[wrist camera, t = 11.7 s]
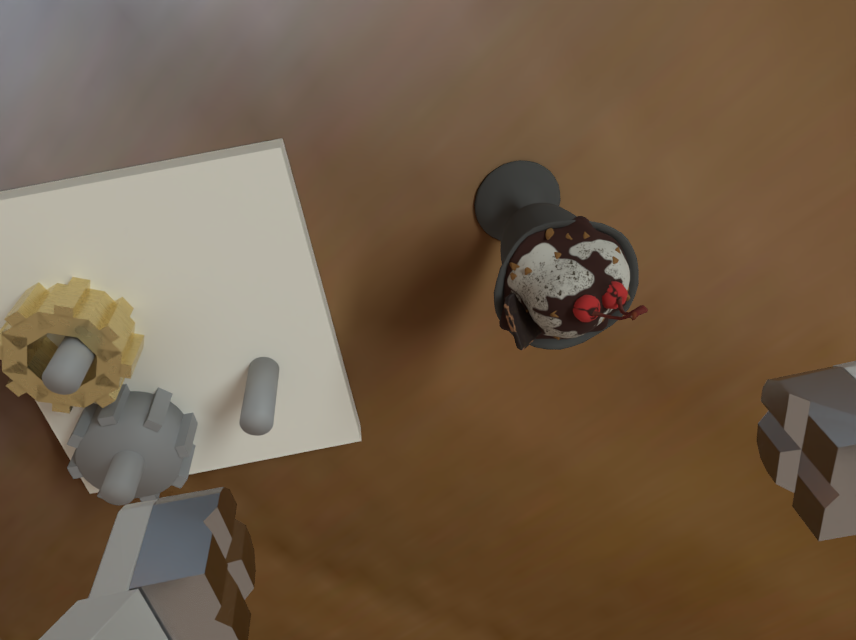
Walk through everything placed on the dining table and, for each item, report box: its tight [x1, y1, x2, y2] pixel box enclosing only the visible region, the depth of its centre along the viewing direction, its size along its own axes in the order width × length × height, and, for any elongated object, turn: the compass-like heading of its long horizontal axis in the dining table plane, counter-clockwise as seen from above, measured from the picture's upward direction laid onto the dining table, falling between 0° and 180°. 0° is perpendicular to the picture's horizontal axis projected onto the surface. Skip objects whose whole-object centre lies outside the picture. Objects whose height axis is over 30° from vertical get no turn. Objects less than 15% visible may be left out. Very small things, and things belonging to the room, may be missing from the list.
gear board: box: [0, 138, 361, 505], centre depth 39 cm, size 20×18×7 cm
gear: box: [0, 277, 144, 414], centre depth 38 cm, size 7×7×3 cm
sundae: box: [475, 160, 648, 350], centre depth 34 cm, size 7×7×15 cm
